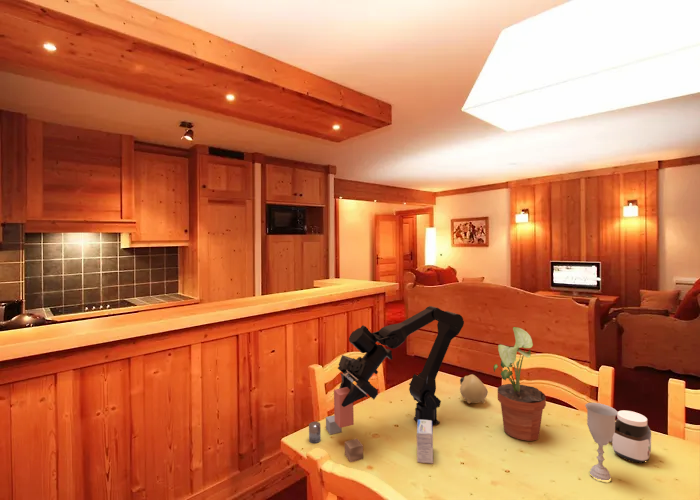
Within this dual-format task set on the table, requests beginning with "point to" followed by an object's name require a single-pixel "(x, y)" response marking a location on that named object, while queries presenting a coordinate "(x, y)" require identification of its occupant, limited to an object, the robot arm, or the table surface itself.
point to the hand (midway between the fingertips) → (339, 402)
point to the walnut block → (353, 450)
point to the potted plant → (519, 393)
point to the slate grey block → (332, 425)
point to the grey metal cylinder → (314, 432)
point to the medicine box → (424, 441)
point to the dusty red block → (342, 408)
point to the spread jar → (632, 436)
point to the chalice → (600, 433)
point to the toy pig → (473, 389)
